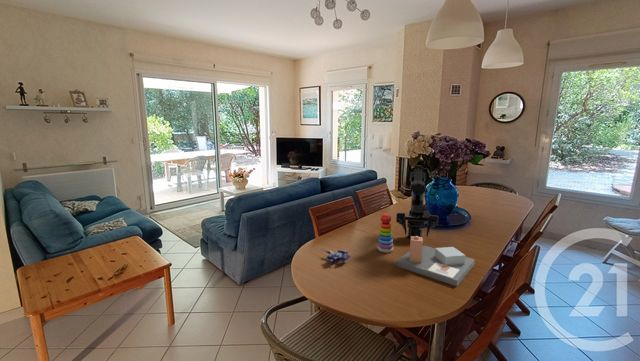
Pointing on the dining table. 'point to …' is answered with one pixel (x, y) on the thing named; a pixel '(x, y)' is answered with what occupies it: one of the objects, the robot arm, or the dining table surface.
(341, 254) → the toy airplane
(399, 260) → the board
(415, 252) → the pillar block
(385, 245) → the stacking toy
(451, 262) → the base block
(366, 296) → the dining table surface
